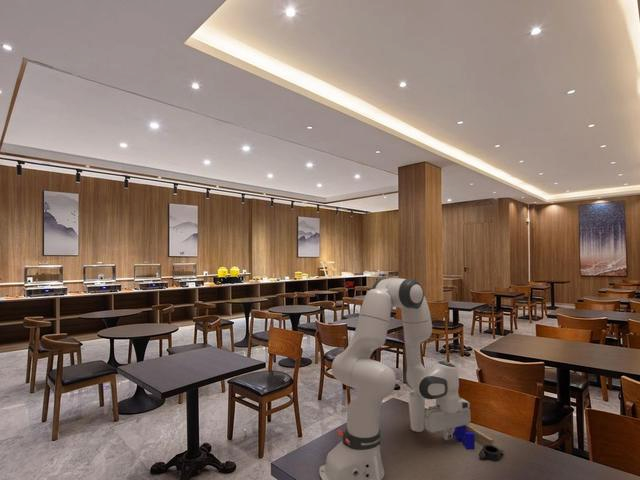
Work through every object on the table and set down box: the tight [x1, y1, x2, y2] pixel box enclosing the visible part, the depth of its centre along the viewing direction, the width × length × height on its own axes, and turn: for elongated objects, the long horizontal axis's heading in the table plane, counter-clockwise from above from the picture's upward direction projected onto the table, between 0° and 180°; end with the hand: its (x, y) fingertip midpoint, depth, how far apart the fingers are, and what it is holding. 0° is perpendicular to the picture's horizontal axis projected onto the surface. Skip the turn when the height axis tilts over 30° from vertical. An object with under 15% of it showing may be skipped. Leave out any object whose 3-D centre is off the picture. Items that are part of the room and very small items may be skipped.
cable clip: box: [452, 425, 476, 451], centre depth 142 cm, size 12×4×6 cm, turn 177°
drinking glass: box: [408, 390, 426, 433], centre depth 152 cm, size 7×7×15 cm
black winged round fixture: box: [478, 445, 505, 462], centre depth 131 cm, size 8×10×3 cm
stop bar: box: [465, 423, 495, 447], centre depth 145 cm, size 6×24×4 cm, turn 21°
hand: (448, 438), depth 141 cm, fingers closed
